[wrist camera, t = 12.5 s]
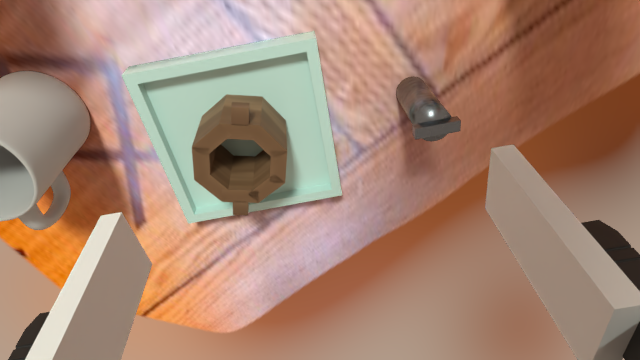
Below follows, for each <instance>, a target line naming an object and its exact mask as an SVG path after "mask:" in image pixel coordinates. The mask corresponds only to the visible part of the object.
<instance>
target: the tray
mask: <svg viewBox="0 0 640 360" xmlns="http://www.w3.org/2000/svg"><path fill="white" fill-rule="evenodd" d="M122 78H123V80H124V82H125V84H126V87H127V89H128V91H129V93H130V95H131V98H132V100H133V102H134V104H135V106H136V109H137V111H138V113H139V115H140V117H141V120H142V122H143V124H144V126H145V128H146V131H147V133H148V135H149V137H150V140H151V142H152V144H153V146H154V148H155V151H156V153H157V155H158V157H159V159H160V162H161V164H162V166H163V168H164V170H165V173H166V175H167V177H168V179H169V182H170V184H171V186H172V188H173V190H174V193H175V195H176V197H177V199H178V201H179V204H180V206H181V208H182V210H183V212H184V215H185V217H186V219H187V221H188V223H194V222H200V221H205V220H210V219H216V218H221V217H227V216H232V215H233V202H222V201H220V200H219V199H218V198H217V197H215V196H214V195H213V194H211V193H210V192H209V191H208V190H206V189H205V188H204V187H203V186H201V185H200V184H199V183H197V182H196V181H195V180H194V171H193V158H192V145H193V142H194V139H195V136H196V133H197V130H198V127H199V124H200V121H201V118H202V116H203V115H204V114H205V113H206V112H207V111H208V110H209V109H210V108H212V107H213V106H214V105H215V104H216V103H217V102H218V101H220V100H221V99H222V98H223V97H224V96H225V95H227V94H229V95H245V96H262V97H263V98H264V99H265V100H266V101H267V102H268V103H269V104H270V105H271V106H272V107H273V108H274V109H275V110H276V111H277V112H278V113H279V114H280V115H281V116H282V117H283V118H284V119H285V120H286V133H287V164H286V179H285V184H283V185H282V186H281V187H279V188H278V189H276V190H275V191H274V192H272V193H271V194H270V195H268V196H267V197H266V198H264V199H263V200H262V201H260V202H259V203H249V210H248V212H254V211H259V210H265V209H270V208H276V207H281V206H287V205H292V204H297V203H303V202H308V201H314V200H319V199H325V198H330V197H336V196H341V195H342V191H341V185H340V179H339V173H338V167H337V161H336V155H335V149H334V143H333V137H332V131H331V125H330V119H329V113H328V107H327V101H326V95H325V89H324V83H323V77H322V71H321V65H320V59H319V53H318V47H317V41H316V36H315V32H314V31H312V32H307V33H302V34H296V35H291V36H286V37H281V38H275V39H270V40H265V41H260V42H255V43H249V44H244V45H239V46H234V47H229V48H223V49H218V50H213V51H208V52H203V53H197V54H192V55H187V56H182V57H177V58H171V59H166V60H161V61H156V62H151V63H145V64H140V65H135V66H130V67H128V68H127V69H126V71H125V72H124V73H123V74H122ZM221 145H222V146H223V147H225V148H226V149H227V150H228V151H229V152H230V153H231V154H233V155H234V156H256V155H257V154H259V153H260V152H261V151H263V149H262V148H261V147H260V146H259V145H258V144H257V143H256V142H255V141H254V140H239V139H226V140H225V141H224V142H223V143H222V144H221Z"/></svg>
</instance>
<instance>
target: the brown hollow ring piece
mask: <svg viewBox="0 0 640 360" xmlns="http://www.w3.org/2000/svg"><path fill="white" fill-rule="evenodd" d="M226 139H239V140H254V141H255V142H256V143H257V144H258V145H259V146H260V147H261V148H262V149H263V151H261V152H260V153H259V154H257V155H256V156H234V155H233V154H231V153H230V152H229V151H228V150H227V149H226V148H225V147H223V146H222V145H221V144H222V143H223V142H224V141H225V140H226ZM192 158H193V171H194V180H195V181H196V182H197V183H199V184H200V185H201V186H203V187H204V188H205V189H206V190H208V191H209V192H210V193H211V194H213V195H214V196H215V197H217V198H218V199H219V200H220V201H222V202H233V215H248V210H249V203H259V202H260V201H262V200H263V199H264V198H266V197H267V196H268V195H270V194H271V193H272V192H274V191H275V190H276V189H278V188H279V187H281V186H282V185H283V184H285V179H286V164H287V133H286V120H285V119H284V118H283V117H282V116H281V115H280V114H279V113H278V112H277V111H276V110H275V109H274V108H273V107H272V106H271V105H270V104H269V103H268V102H267V101H266V100H265V99H264V98H263V97H262V96H245V95H229V94H227V95H225V96H224V97H223V98H222V99H221V100H220V101H218V102H217V103H216V104H215V105H214V106H213V107H212V108H210V109H209V110H208V111H207V112H206V113H205V114H204V115H203V116H202V118H201V121H200V124H199V127H198V130H197V133H196V136H195V139H194V142H193V145H192Z"/></svg>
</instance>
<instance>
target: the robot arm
mask: <svg viewBox="0 0 640 360" xmlns="http://www.w3.org/2000/svg"><path fill="white" fill-rule="evenodd" d="M485 209H486V210H487V212H488V214H489V216H490V217H491V219H492V220H493V222H494V224H495V225H496V226H497V229H498V230H499V232H500V234H501V235H502V237H503V238H504V240H505V242H506V244H507V245H508V247H509V248H510V250H511V252H512V253H513V255H514V257H515V258H516V260H517V261H518V263H519V265H520V266H521V268H522V270H523V271H524V273H525V275H526V276H527V278H528V279H529V281H530V283H531V284H532V286H533V288H534V289H535V291H536V293H537V294H538V296H539V298H540V299H541V301H542V303H543V304H544V306H545V307H546V309H547V311H548V312H549V314H550V316H551V317H552V319H553V320H554V322H555V324H556V325H557V327H558V329H559V330H560V332H561V334H562V335H563V337H564V339H565V340H566V342H567V343H568V345H569V347H570V348H571V350H572V351H573V353H574V355H575V356H576V358H577V360H622V359H623V358H624V359H625V360H640V255H639V253H638V252H637V251H636V250H635V249H634V248H631V245H630V244H629V243H628V242H627V241H626V240H625V239H624V238H623V236H622V235H621V234H620V233H619V232H618V231H616V230H615V229H613V228H611V227H610V226H608V225H606V224H605V223H603V222H601V221H600V220H596V221H590V222H584V223H580V221H579V220H578V219H577V218H576V217H575V216H574V214H573V213H572V212H571V211H570V210H569V209H568V207H567V206H566V205H565V204H564V203H563V202H562V200H561V199H560V198H559V197H558V196H557V195H556V193H555V192H554V191H553V190H552V189H551V188H550V186H549V185H548V184H547V183H546V182H545V181H544V179H543V178H542V177H541V176H540V175H539V174H538V172H537V171H536V170H535V169H534V168H533V167H532V166H531V164H530V163H529V162H528V161H527V160H526V159H525V157H524V156H523V155H522V154H521V153H520V151H519V150H518V149H517V148H516V147H515V146H514V145H507V146H501V147H496V148H491V155H490V165H489V175H488V185H487V195H486V204H485ZM151 266H152V263H151V261H150V260H149V258H148V256H147V255H146V253H145V251H144V249H143V248H142V246H141V244H140V243H139V241H138V239H137V237H136V236H135V234H134V232H133V231H132V229H131V227H130V225H129V224H128V222H127V220H126V219H125V217H124V215H123V213H122V212H119V213H113V214H107V215H102V216H100V218H99V220H98V222H97V224H96V226H95V228H94V229H93V231H92V233H91V235H90V237H89V239H88V241H87V243H86V245H85V247H84V248H83V250H82V252H81V254H80V256H79V258H78V260H77V262H76V264H75V266H74V267H73V269H72V271H71V273H70V275H69V277H68V279H67V281H66V283H65V285H64V286H63V288H62V290H61V292H60V294H59V296H58V298H57V300H56V302H55V304H54V305H53V307H52V309H51V311H50V312H46V313H40V314H39V315H38V316H37V317H36V318H35V319H34V321H33V322H32V323H31V324H30V325H29V326H28V327H27V328H26V329H25V331H24V332H23V334H22V336H21V338H20V339H19V341H18V343H17V345H16V349H15V350H13V352H12V354H11V356H10V357H9V359H8V360H121V357H122V354H123V351H124V348H125V345H126V342H127V339H128V336H129V333H130V330H131V327H132V324H133V321H134V318H135V315H136V312H137V309H138V306H139V303H140V300H141V297H142V294H143V291H144V288H145V285H146V282H147V279H148V276H149V272H150V269H151Z"/></svg>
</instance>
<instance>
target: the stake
mask: <svg viewBox="0 0 640 360" xmlns="http://www.w3.org/2000/svg"><path fill="white" fill-rule="evenodd" d="M396 96H397V99H398V100H399V102H400V104H401V106H402V107H403V109H404V111H405V112H406V114H407V116H408V117H409V119H410V121H411V122H412V124H413V125H412V129H413V136H414V138H415V139H421V138H422V139H424V140H426V141H437V140H440V139H442V138H443V137H445V136H446V135H447V134H448V133H453V132H458V131H460V126H461V120H460V119H459V118H458V117H457V116H456V117H451V115H450V114H449V113H448V112H447V110H446V109H445V108H444V106H443V105H442V104H441V103H440V101H439V100H438V99H437V98H436V96H435V95H434V94H433V92H432V91H431V90H430V89H429V87H428V86H427V85H426V84H425V82H424V81H423V80H422V79H421V78H419V77H408V78H406V79H404V80H403V81H402V82H401V83H400V84H399V85H398V87H397V91H396Z"/></svg>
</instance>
